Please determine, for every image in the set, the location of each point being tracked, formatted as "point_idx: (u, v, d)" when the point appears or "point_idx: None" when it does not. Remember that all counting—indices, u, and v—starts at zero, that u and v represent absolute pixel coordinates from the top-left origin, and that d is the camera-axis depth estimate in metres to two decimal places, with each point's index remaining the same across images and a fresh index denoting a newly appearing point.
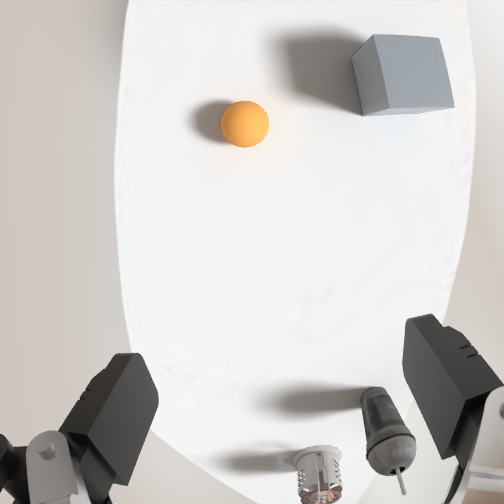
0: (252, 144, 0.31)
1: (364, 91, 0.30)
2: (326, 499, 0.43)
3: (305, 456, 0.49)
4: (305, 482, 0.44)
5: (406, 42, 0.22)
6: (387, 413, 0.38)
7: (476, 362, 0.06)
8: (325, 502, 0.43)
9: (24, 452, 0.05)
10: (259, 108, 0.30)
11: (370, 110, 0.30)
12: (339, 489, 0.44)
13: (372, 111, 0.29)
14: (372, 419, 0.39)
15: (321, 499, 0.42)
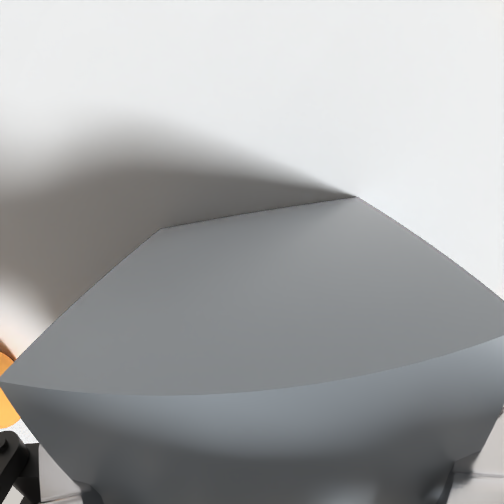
0: None
1: None
2: None
3: None
4: None
5: (206, 439, 0.03)
6: None
7: None
8: None
9: (35, 449, 0.05)
10: None
11: None
12: None
13: None
14: None
15: None
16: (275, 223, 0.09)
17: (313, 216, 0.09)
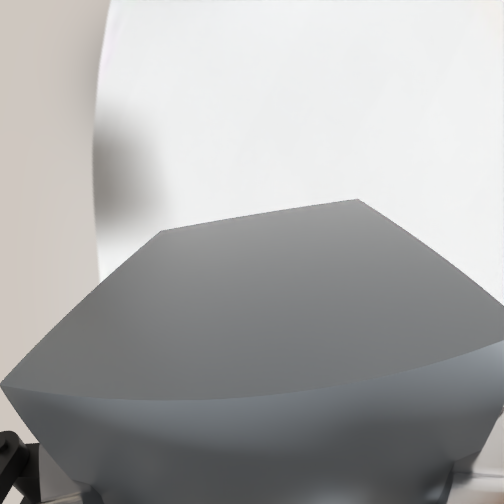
0: None
1: None
2: None
3: None
4: None
5: (208, 443, 0.03)
6: None
7: None
8: None
9: (35, 449, 0.05)
10: None
11: None
12: None
13: None
14: None
15: None
16: (275, 226, 0.09)
17: (313, 219, 0.09)
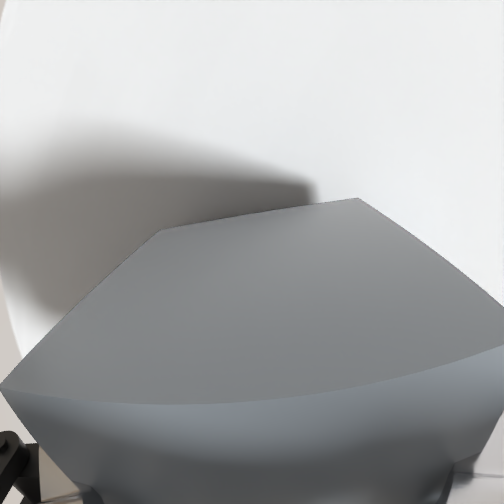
0: None
1: None
2: None
3: None
4: None
5: (208, 446, 0.03)
6: None
7: None
8: None
9: (35, 449, 0.05)
10: None
11: None
12: None
13: None
14: None
15: None
16: (275, 225, 0.09)
17: (314, 218, 0.09)
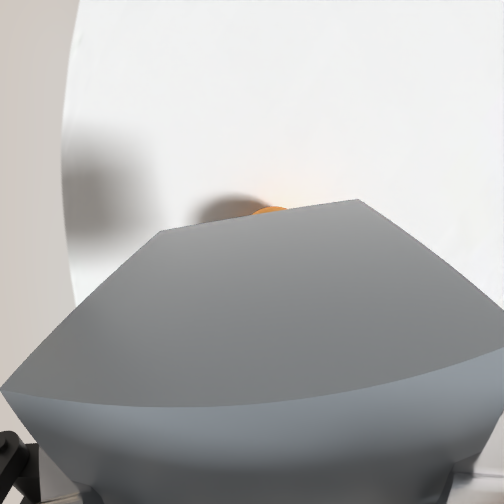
0: None
1: None
2: None
3: None
4: None
5: (209, 449, 0.03)
6: None
7: None
8: None
9: (35, 449, 0.05)
10: None
11: None
12: None
13: None
14: None
15: None
16: (276, 226, 0.09)
17: (314, 219, 0.09)
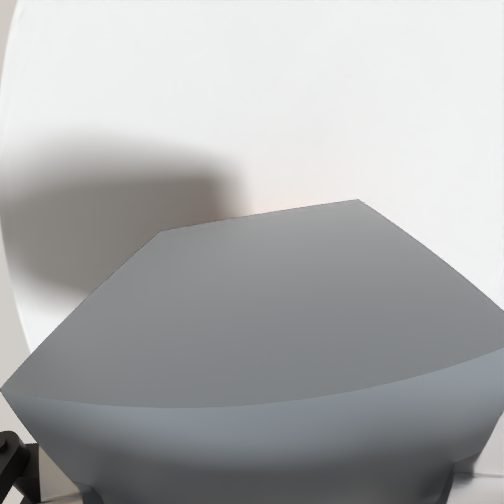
0: None
1: None
2: None
3: None
4: None
5: (209, 449, 0.03)
6: None
7: None
8: None
9: (35, 449, 0.05)
10: None
11: None
12: None
13: None
14: None
15: None
16: (276, 226, 0.09)
17: (314, 219, 0.09)
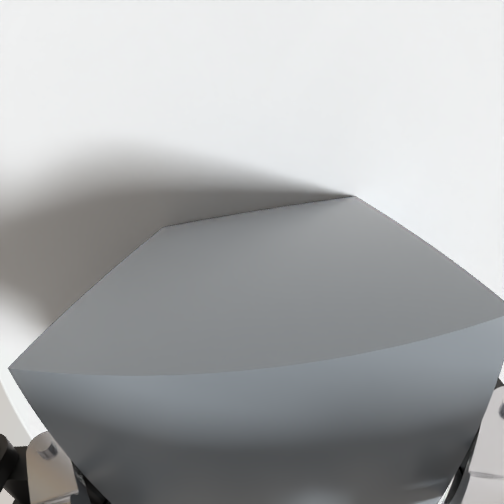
0: None
1: None
2: None
3: None
4: None
5: (211, 419, 0.04)
6: None
7: None
8: None
9: (24, 452, 0.05)
10: None
11: None
12: None
13: None
14: None
15: None
16: (275, 221, 0.10)
17: (312, 214, 0.10)
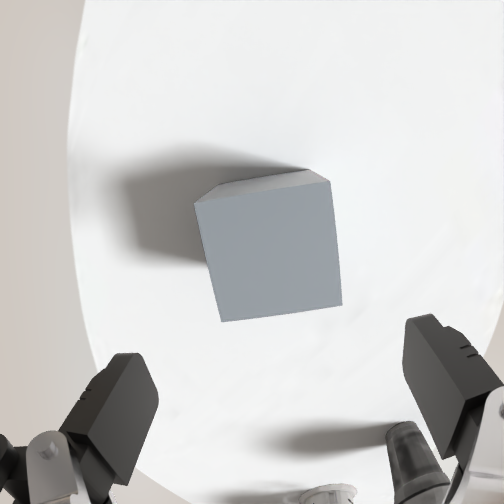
0: None
1: None
2: None
3: (315, 496, 0.38)
4: None
5: (256, 206, 0.17)
6: (421, 457, 0.27)
7: (476, 362, 0.06)
8: None
9: (24, 452, 0.05)
10: None
11: None
12: None
13: None
14: (402, 464, 0.27)
15: None
16: (272, 177, 0.23)
17: (287, 175, 0.23)
